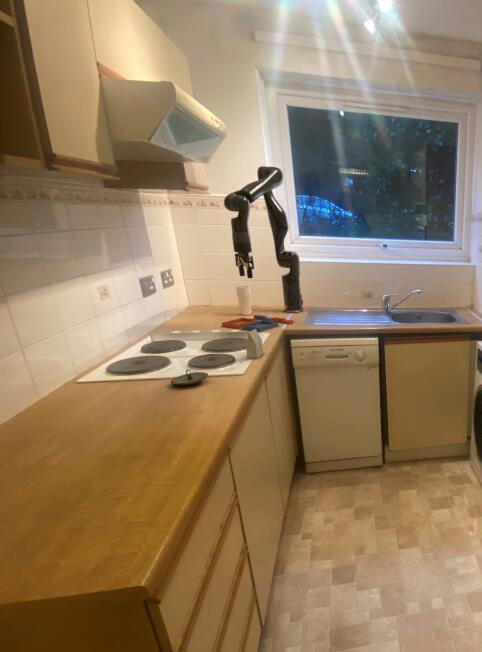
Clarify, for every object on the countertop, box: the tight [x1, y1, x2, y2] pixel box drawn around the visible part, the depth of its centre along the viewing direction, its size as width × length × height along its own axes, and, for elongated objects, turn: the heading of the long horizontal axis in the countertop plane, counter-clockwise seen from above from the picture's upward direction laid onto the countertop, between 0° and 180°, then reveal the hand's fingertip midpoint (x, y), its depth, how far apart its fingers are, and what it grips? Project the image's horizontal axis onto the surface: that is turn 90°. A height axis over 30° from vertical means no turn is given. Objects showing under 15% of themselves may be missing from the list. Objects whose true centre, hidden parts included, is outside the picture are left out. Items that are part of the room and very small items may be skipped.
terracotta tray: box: [221, 317, 259, 330], centre depth 214 cm, size 13×10×2 cm
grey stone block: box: [244, 329, 264, 359], centre depth 168 cm, size 4×7×10 cm, turn 5°
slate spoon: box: [253, 314, 274, 322], centre depth 226 cm, size 10×3×2 cm, turn 73°
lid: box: [170, 369, 209, 386], centre depth 139 cm, size 11×10×5 cm
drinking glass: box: [235, 285, 253, 316], centre depth 234 cm, size 7×7×15 cm
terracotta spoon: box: [272, 316, 295, 325], centre depth 223 cm, size 10×3×2 cm, turn 73°
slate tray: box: [241, 320, 279, 333], centre depth 211 cm, size 13×10×2 cm
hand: (246, 277), depth 207 cm, fingers open, 8 cm apart
